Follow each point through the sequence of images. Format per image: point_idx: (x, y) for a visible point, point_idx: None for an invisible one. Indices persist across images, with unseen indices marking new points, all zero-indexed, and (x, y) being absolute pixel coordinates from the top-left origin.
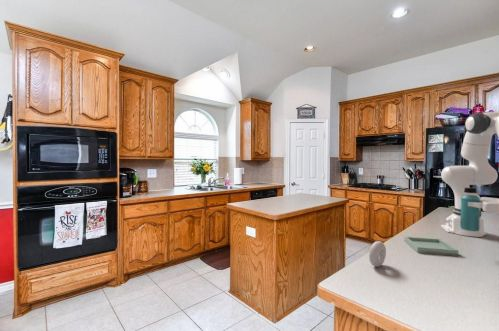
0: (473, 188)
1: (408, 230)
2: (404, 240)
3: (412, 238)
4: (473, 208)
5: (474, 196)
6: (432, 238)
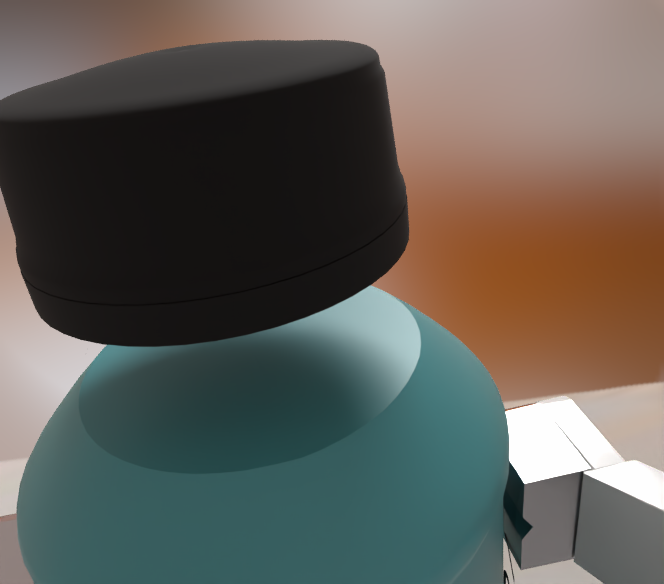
0: (67, 94)
1: (642, 391)
2: None
3: None
4: None
5: (104, 453)
6: None
